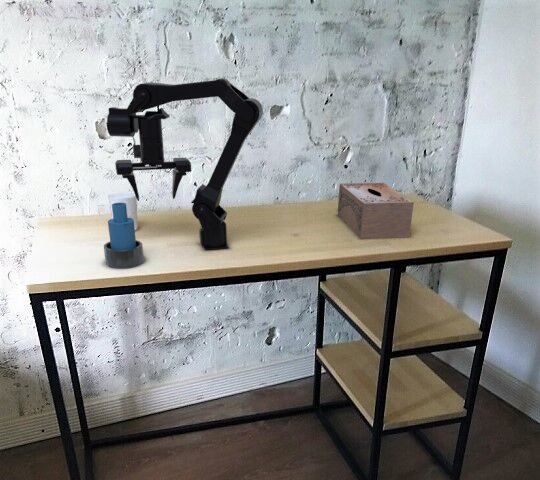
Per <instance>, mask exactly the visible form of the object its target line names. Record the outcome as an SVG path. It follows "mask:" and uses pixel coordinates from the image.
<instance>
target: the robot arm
mask: <svg viewBox="0 0 540 480" xmlns="http://www.w3.org/2000/svg"><path fill="white" fill-rule="evenodd" d="M216 97H217V98H219V99H220V100H221V101H222V102H223V103H224V104H225V105H226V107H228V109H229V110H230V111H231V112H233V113H234V115H233V119H232V124H231V131H230V134H229V137H228V138H227V141H226V143H225V145H224V147H223V149H222V152H221V153H220V156H219V159H218V161H217V163H216V165H215V167H214V169H213V172H212V174H211V176H210V178H209V179H208V183H207V184H206V185H205V184H204V183H202V184H201V185H200V186H199V187H198V188H197V189H196V192H195V196H194V198H193V200H191V202H190V204H192V206H191V211H192V213H193V215H194V217H195V218H196V219H197V220H198V221H199V225H200V228H199V229H198V230H199V232H198V233H199V244H200V246H201V247H202V248H203V249H204V250H205V251H210V250H224V249H229V245H228V240H227V239H228V236H227V232H228V231H227V223H226V222H225V220H226V218H227V215H228V211H226V210H225V209H224V208H223V207H222V206H221V205H220V203H221V200H222V195H223V189H224V186H225V184H226V182H227V180H228V178H229V175H230V173H231V171H232V169H233V167H234V165H235V163H236V161H237V158H238V156H239V155H240V152H241V150H242V148H243V146H244V144H245V142H246V140H247V138H248V136H250V134H251V133H252V132H253V130H254V129H255V127H256V126H257V124H258V123H259V122H260V120H261V119H262V117H263V114H264V108H263V106H262V103H261V101H259V100H257V99H256V98H252V97H251V98H250V97H249V96H248V95H246V93H244V92H243V91H241V90H240V89H239V88H237V87H236V85H235V86H234V84H232V83H231V82H230V81H229V79H228V78H224V77H220V78H217V79H214V80H213V79H211V80H204V81H195V82H185V83H177V84H169V83H162V82H144V83H139V84H137V85H135V87H134V89H133V91H132V99H131V100H130V102H129V104H128V106H127V107H126V108H125V107H123V108H121V107H114V106H111V107H108V114H107V118H106V123H105V124H106V130H107V134H108V135H109V136H110V137H123V138H124V137H125V138H133V137H135V136H136V134H138V136H139V144H132V151H133V152H132V153H133V158H134V159H140V160H139V161H140V162H132V160H131V159H116V161H115V162H114V164H115V165H114V167H115V172H116V173H115V174H116V175H117V176H121V177H122V179H127V181H128V183H129V184H130V187H131V188H132V190H133V191H132V192H133V193H135V196H136V198H137V202H139V201H140V194H139V191H138V187H137V186H138V185H137V181H136V177H135V173H134V171H155V170H157V171H158V170H172V187H171V195H172V200H175V199H176V195H177V192H178V189H179V185H180V183H181V182H182V179H183V177H184V176H187V173H191V172H192V163H191V161H190V160H189V159H188V158H187V156H186V157H172V160H171V161H165V152H164V137H163V124H162V120H167V119H169V118H170V114H169V113H167V112H166V111H165V110H164V108H163V107H160V108H158V110H150V109H153V108H157V107H159V106H163V105H166V104H169V103H172V102H179V101H188V100H197V99H199V100H200V99H208V98H216ZM141 112H144V114H139V113H141Z"/></svg>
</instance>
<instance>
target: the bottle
mask: <svg viewBox="0 0 540 480" xmlns="http://www.w3.org/2000/svg"><path fill="white" fill-rule="evenodd" d="M112 210H113V219H112V218H111V219H108V220H107V226H108V235H109V242H110V243H111V249H112V250H128V249H133V248H136V240H137V238H136V230H135V229H134V220H133V219H132V218H128V217H127V208H126V203H114V204H112Z"/></svg>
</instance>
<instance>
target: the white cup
mask: <svg viewBox="0 0 540 480" xmlns="http://www.w3.org/2000/svg"><path fill="white" fill-rule="evenodd" d="M107 196H108V204H109V209H110V215H111V219H113V210H112V204H114V203H126V208H127V217H128V218H132V219H133V220H134V229H135V231H137V230H138V228H139V227H138V226H139V225H138V220H139V219H138V200H137V198H136V196H135V193H134V192H131V191H120V192H118V191H117V192H113V193H110V194H108V195H107Z"/></svg>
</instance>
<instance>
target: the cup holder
mask: <svg viewBox="0 0 540 480" xmlns="http://www.w3.org/2000/svg"><path fill="white" fill-rule="evenodd" d="M103 252H104V260H105V265H106V266H107V267H109V268H112V269H119V270H120V269H132V268H136V267H139V266H142V265H143V264H144V263H145V256H144V245H143V242H142V241H140V240H138V239H136V248H133V249H128V250H112V249H111V243H110V241H108V242H106V243H104V245H103Z"/></svg>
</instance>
